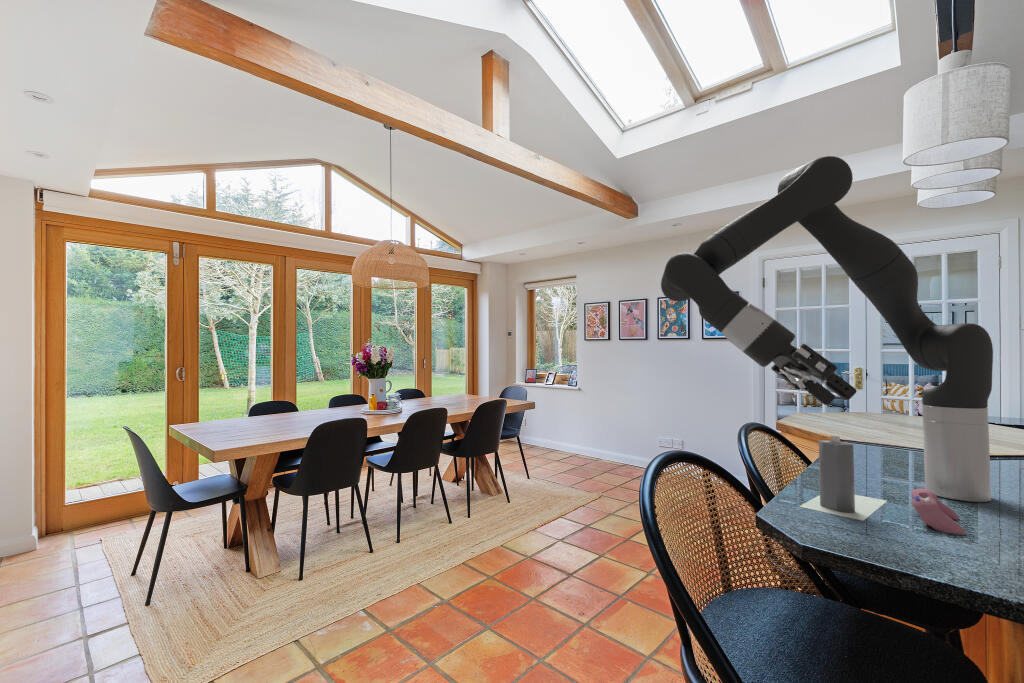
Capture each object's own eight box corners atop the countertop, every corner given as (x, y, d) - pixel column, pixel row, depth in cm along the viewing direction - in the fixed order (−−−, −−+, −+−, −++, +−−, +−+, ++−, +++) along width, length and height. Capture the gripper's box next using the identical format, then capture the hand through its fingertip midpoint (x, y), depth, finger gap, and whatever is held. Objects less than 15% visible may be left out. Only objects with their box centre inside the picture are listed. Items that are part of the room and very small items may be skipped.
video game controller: (928, 528, 76) (901, 487, 78) (962, 521, 73) (934, 478, 75) (932, 547, 68) (903, 500, 70) (970, 540, 66) (939, 492, 68)
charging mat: (828, 495, 89) (828, 489, 89) (887, 506, 82) (887, 500, 82) (799, 512, 79) (798, 506, 79) (863, 526, 72) (863, 520, 72)
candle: (815, 504, 80) (814, 433, 80) (828, 502, 81) (826, 432, 81) (846, 514, 75) (844, 438, 75) (859, 511, 76) (857, 437, 77)
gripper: (783, 307, 74) (878, 376, 69) (761, 329, 88) (839, 387, 82) (750, 341, 74) (842, 412, 69) (734, 357, 88) (810, 418, 82)
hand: (841, 398), depth 75 cm, fingers open, 8 cm apart
